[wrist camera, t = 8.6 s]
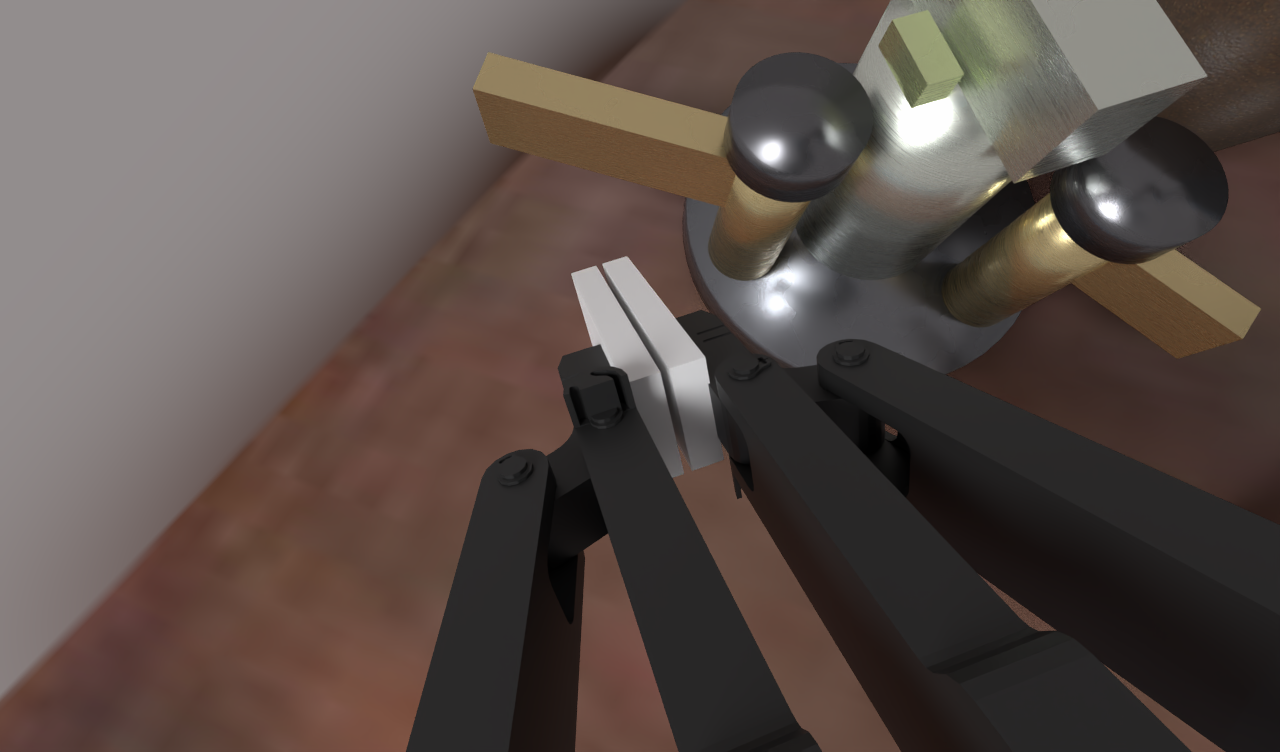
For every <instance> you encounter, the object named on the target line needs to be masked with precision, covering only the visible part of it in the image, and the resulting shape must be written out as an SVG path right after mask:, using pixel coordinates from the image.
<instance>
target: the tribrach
mask: <svg viewBox="0 0 1280 752" xmlns="http://www.w3.org/2000/svg"><path fill="white" fill-rule="evenodd" d="M837 64H839V65H841V66H842V67H844V68H845V69H846V70H848V71H849V72H850V73H851V74H852V75H853V76H854V77H856V79H857V80H858V81H859V82H860V83H861V85H862V86H863V88H864V89H865V91H866V93H867V95H868V97H869V99H870V102H871V106H872V111H873V128H872V132H871V136H870V139H869V141H868V143H867V145H866V146H865V148H864V150H863V151H862V153H861V154H860V156H859V157H858V159H857V160H856V162H855V163H854V165H853V167H852V168H851V170H850V171H849V173H848V174H847V176H846V177H845V179H844V180H843V181H842V183H841V184H840V185H839V186H838V187H837V188H835V189H834V190H833V191H832V192H830V193H828V194H827V195H825V196H823V197H820V198H818V199H815V200H811V201H810V203H809V205H808V206H807V208H806V210H805V211H804V213H803V215H802V217H801V218H800V220H799V222H798V223H797V225H796V227H795V229H794V230H793V232H792V234H791V235H790V237H789V239H788V240H787V242H786V244H785V246H784V247H783V249H782V251H781V252H780V254H779V256H778V257H777V259H776V261H775V263H774V264H773V266H772V267H771V269H770V270H769V271H768V272H767V273H766V274H764V275H763V276H761V277H759V278H757V279H753V280H748V281H741V280H735V279H732V278H729V277H727V276H725V275H724V274H722V273H721V272H720V271H718V270H717V268H716V267H715V266H714V265H713V263H712V261H711V259H710V257H709V253H708V241H709V237H710V234H711V231H712V228H713V224H714V221H715V218H716V215H717V212H718V208H719V206H717V205H713V204H709V203H706V202H702V201H699V200H695V199H691V198H688V197H686V198H685V203H684V212H683V221H682V222H683V243H684V249H685V255H686V260H687V264H688V267H689V270H690V273H691V276H692V279H693V282H694V284H695V286H696V288H697V291H698V293H699V295H700V297H701V299H702V301H703V303H704V304H705V306H706V307H707V309H708V310H709V312H710V313H711V314H713V315H716V316H717V317H718V318H719V319H720V320H721V321H722V322H723V323H724V325H725V326H726V327H727V328H728V329H729V330H730V331H731V333H733V334H734V335H735V336H736V337H737V338H738V340H739V341H740V342H741V343H742V344H743V345H744V346H745V347H746V348H747V349H748V350H749V351H750V352H751V354H762V355H766V356H769V357H770V358H772V359H773V360H775V361H776V362H777V363H778V364H779V365H780V366H781V367H782V368H796V367H804V366H812V365H817V358H816V356H817V354H818V352H819V350H820V349H822V348H823V347H824V346H826V345H827V344H830V343H832V342H835V341H838V340H843V339H844V340H845V339H861V340H866V341H870V342H873V343H876V344H878V345H880V346H883V347H885V348H887V349H889V350H892V351H894V352H896V353H898V354H900V355H903V356H905V357H907V358H909V359H912V360H914V361H916V362H918V363H920V364H923V365H925V366H927V367H929V368H932V369H934V370H936V371H938V372H940V373H943V374H945V375H946V374H948V373H950V372H952V371H954V370H956V369H958V368H961V367H963V366H965V365H966V364H968V363H970V362H971V361H973V360H974V359H976V358H977V357H979V356H981V355H982V354H984V353H985V352H986V351H987V350H988V349H990V348H991V347H992V346H993V345H994V344H995V343H997V342H998V341H999V340H1000V339H1001V338H1002V337H1003V335H1004V334H1005V333H1006V332H1007V331H1008V330H1009V328H1010V327H1011V326H1012V325H1013V324H1014V322H1015V321H1016V319H1017V317H1018V316H1019V314H1020V313H1021V311H1022V310H1023V309H1024V308H1026V307H1028V306H1030V305H1032V304H1034V303H1035V302H1037V301H1039V300H1041V299H1043V298H1045V297H1047V296H1048V295H1050V294H1052V293H1054V292H1056V291H1058V290H1059V289H1061V288H1063V287H1065V286H1067V285H1069V284H1071V283H1072V284H1073V285H1075V286H1076V287H1077V288H1079V289H1080V290H1082V291H1083V292H1084V293H1086V294H1087V295H1089V296H1090V297H1091V298H1093V299H1094V300H1096V301H1097V302H1098V303H1100V304H1101V305H1102V306H1104V307H1105V308H1107V309H1108V310H1109V311H1111V312H1112V313H1114V314H1115V315H1116V316H1118V317H1119V318H1121V319H1122V320H1123V321H1125V322H1126V323H1128V324H1129V325H1130V326H1132V327H1133V328H1135V329H1136V330H1137V331H1139V332H1140V333H1142V334H1143V335H1144V336H1146V337H1147V338H1149V339H1150V340H1151V341H1153V342H1154V343H1155V344H1157V345H1158V346H1160V347H1161V348H1162V349H1164V350H1165V351H1167V352H1168V353H1169V354H1171V355H1172V356H1174V357H1175V358H1176V359H1178V358H1182V357H1185V356H1188V355H1191V354H1195V353H1198V352H1201V351H1205V350H1208V349H1211V348H1215V347H1218V346H1221V345H1224V344H1228V343H1231V342H1234V341H1238V340H1241V339H1243V338H1244V336H1245V335H1246V333H1247V331H1248V330H1249V328H1250V326H1251V325H1252V323H1253V321H1254V320H1255V318H1256V317H1257V315H1258V313H1259V312H1260V310H1261V309H1260V308H1259V307H1258V306H1256V305H1255V304H1253V303H1252V302H1250V301H1249V300H1247V299H1246V298H1245V297H1243V296H1242V295H1240V294H1239V293H1237V292H1236V291H1234V290H1233V289H1231V288H1230V287H1229V286H1227V285H1226V284H1224V283H1223V282H1221V281H1220V280H1218V279H1217V278H1215V277H1214V276H1213V275H1211V274H1210V273H1208V272H1207V271H1205V270H1204V269H1202V268H1201V267H1200V266H1198V265H1197V264H1195V263H1194V262H1192V261H1191V260H1189V259H1188V258H1186V257H1185V256H1184V255H1182V254H1181V253H1179V252H1178V251H1176V250H1175V249H1176V248H1178V247H1180V246H1182V245H1184V244H1186V243H1188V242H1190V241H1192V240H1194V239H1196V238H1198V237H1200V236H1202V235H1204V234H1205V233H1207V232H1209V231H1210V230H1211V229H1212V228H1214V227H1215V226H1216V225H1217V224H1218V222H1219V221H1220V220H1221V218H1222V216H1223V214H1224V213H1225V210H1226V207H1227V202H1228V183H1227V179H1226V175H1225V172H1224V170H1223V167H1222V165H1221V163H1220V162H1219V160H1218V158H1217V156H1216V155H1215V154H1214V152H1213V151H1212V150H1211V148H1210V147H1209V146H1208V145H1207V144H1206V143H1205V142H1204V141H1203V140H1202V139H1201V138H1199V137H1198V136H1197V135H1196V134H1194V133H1193V132H1192V131H1190V130H1189V129H1187V128H1185V127H1184V126H1182V125H1180V124H1178V123H1176V122H1173V121H1171V120H1168V119H1165V118H1161V117H1157V115H1158V114H1159V113H1160V112H1162V111H1163V110H1164V109H1166V108H1167V107H1168V106H1170V105H1171V104H1172V103H1173V102H1175V101H1176V100H1177V99H1179V98H1180V97H1181V96H1183V95H1184V94H1185V93H1187V92H1188V91H1189V90H1190V89H1192V88H1193V87H1194V86H1196V85H1197V84H1198V83H1200V82H1201V81H1202V80H1203V79H1205V78H1206V77H1207V74H1206V73H1205V71H1204V70H1203V68H1202V67H1201V66H1200V64H1199V63H1198V61H1197V60H1196V58H1195V57H1194V55H1193V54H1192V52H1191V51H1190V49H1189V48H1188V46H1187V45H1186V43H1185V42H1184V40H1183V39H1182V38H1181V36H1180V35H1179V33H1178V32H1177V30H1176V29H1175V27H1174V26H1173V24H1172V23H1171V21H1170V20H1169V18H1168V17H1167V15H1166V14H1165V12H1164V11H1163V10H1162V8H1161V7H1160V5H1159V4H1158V2H1157V1H1156V0H891V1H890V3H889V5H888V7H887V8H886V10H885V12H884V14H883V16H882V18H881V20H880V22H879V24H878V26H877V28H876V30H875V32H874V34H873V36H872V37H871V39H870V41H869V43H868V45H867V47H866V49H865V51H864V53H863V55H862V57H861V59H860V61H859V63H858V64H847V63H837ZM730 108H731V105H730V106H729V107H728V108H727V109H726V110H725V111H724V112H723V113H722V116H726V117H728V115H729V111H730ZM1052 171H1055V172H1054V174H1053V177H1052V180H1051V185H1050V193H1049V194H1048V195H1046V196H1045V197H1044V198H1043V199H1041V200H1040V201H1039V202H1037V203H1036V204H1035V203H1034V200H1033V197H1032V194H1031V191H1030V188H1029V185H1028V182H1027V179H1030V178H1033V177H1036V176H1039V175H1042V174H1046V173H1049V172H1052Z"/></svg>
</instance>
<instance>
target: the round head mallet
mask: <svg viewBox="0 0 1280 752" xmlns="http://www.w3.org/2000/svg"><path fill="white" fill-rule="evenodd" d="M473 92H474V94H475V98H476V101H477V103H478V107H479V110H480V112H481V115H482V118H483V122H484V125H485V128H486V130H487V134H488V137H489V140H490V143H492V144H496V145H500V146H503V147H507V148H510V149H514V150H518V151H521V152H525V153H528V154H532V155H536V156H539V157H543V158H547V159H550V160H554V161H557V162H561V163H565V164H568V165H572V166H576V167H579V168H583V169H586V170H590V171H594V172H597V173H601V174H605V175H608V176H612V177H615V178H619V179H623V180H626V181H630V182H633V183H637V184H641V185H644V186H648V187H652V188H655V189H659V190H662V191H666V192H670V193H673V194H677V195H681V196H684V197H688V198H691V199H695V200H699V201H702V202H706V203H709V204H713V205H717V206H719V208H718V212H717V215H716V218H715V221H714V224H713V228H712V231H711V234H710V237H709V241H708V253H709V257H710V259H711V261H712V263H713V265H714V266H715V267H716V268H717V270H718V271H720V272H721V273H722V274H724V275H725V276H727V277H729V278H732V279H735V280H741V281H748V280H753V279H757V278H759V277H761V276H763V275H764V274H766V273H767V272H768V271H769V270H770V269H771V267H772V266H773V264H774V263H775V261H776V259H777V257H778V256H779V254H780V252H781V251H782V249H783V247H784V246H785V244H786V242H787V240H788V239H789V237H790V235H791V234H792V232H793V230H794V229H795V227H796V225H797V223H798V222H799V220H800V218H801V217H802V215H803V213H804V211H805V210H806V208H807V206H808V205H809V203H810V201H811V200H815V199H818V198H820V197H823V196H825V195H827V194H828V193H830V192H832V191H833V190H834V189H835V188H837V187H838V186H839V185H840V184H841V183H842V181H843V180H844V179H845V177H846V176H847V174H848V173H849V171H850V170H851V168H852V167H853V165H854V163H855V162H856V160H857V159H858V157H859V156H860V154H861V153H862V151H863V150H864V148H865V146H866V145H867V143H868V141H869V139H870V136H871V132H872V128H873V111H872V106H871V102H870V99H869V97H868V95H867V93H866V91H865V89H864V88H863V86H862V85H861V83H860V82H859V81H858V80H857V79H856V77H854V76H853V75H852V74H851V73H850V72H849V71H848V70H846V69H845V68H844V67H842V66H841V65H839V64H837V63H836V62H834V61H832V60H829V59H827V58H825V57H821V56H818V55H814V54H809V53H800V52H797V53H783V54H779V55H774V56H771V57H769V58H766V59H764V60H762V61H760V62H759V63H757V64H756V65H754V66H753V67H752V68H750V69H749V70H748V71H747V72H746V73H745V75H744V76H743V77H742V78H741V80H740V82H739V83H738V85H737V88H736V90H735V93H734V96H733V100H732V104H731V108H730V111H729V115H728V117H726V116H722V115H718V114H715V113H711V112H707V111H704V110H700V109H696V108H692V107H689V106H685V105H681V104H678V103H674V102H670V101H667V100H663V99H659V98H655V97H652V96H648V95H644V94H641V93H637V92H633V91H630V90H626V89H622V88H619V87H615V86H611V85H607V84H604V83H600V82H596V81H593V80H589V79H585V78H581V77H577V76H574V75H570V74H567V73H563V72H559V71H556V70H552V69H548V68H544V67H541V66H537V65H534V64H529V63H526V62H522V61H518V60H515V59H511V58H507V57H504V56H500V55H497V54H493V53H488V54H487V57H486V59H485V61H484V63H483V66H482V68H481V71H480V73H479V75H478V77H477V80H476V82H475V85H474V87H473Z"/></svg>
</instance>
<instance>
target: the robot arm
mask: <svg viewBox="0 0 1280 752" xmlns="http://www.w3.org/2000/svg"><path fill="white" fill-rule="evenodd" d="M603 268H604V272H605V276H606V279H607V283H608V285H607V283H606V281H605V280H604V278H603V276H602V275H601V273H600V271H599V270H598V268H597V266H594V267H590V268H587V269H584V270H580V271H577V272H574V273H571V275H572V278H573V281H574V285H575V288H576V292H577V295H578V298H579V302H580V305H581V308H582V312H583V315H584V318H585V322H586V325H587V329H588V332H589V335H590V339H591V342H592V345H593V347H590V348H587V349H583V350H580V351H577V352H574V353H571V354H568V355H565V356H563V357H562V359H561V362H560V364H559V366H558V371H559V374H560V378H561V381H562V384H563V388H564V393H563V396H564V399H565V402H566V405H567V408H568V411H569V413H570V416H571V419H572V422H573V425H574V429H573V432H572V434H571V436H570V437H569V439H568V440H567V441H566V442H565V443H564V444H563V445H562V446H561V447H560V448H558V449H557V450H555V451H554V452H552V453H551V454H549V455H547V456H545V455H544V454H543V453H542V452H540V451H537V450H533V449H526V450H518V451H515V452H512V453H508V454H506V455H504V456H503V457H501V458H499V459H498V460H496V461H495V462H494V463H493V464H492V465H491V466H489V467H488V468H487V470H486V471H485V473H484V475H483V477H482V479H481V483H480V487H479V490H478V494H477V498H476V501H475V505H474V508H473V512H472V516H471V519H470V523H469V526H468V530H467V534H466V537H465V541H464V544H463V548H462V552H461V555H460V559H459V562H458V566H457V570H456V573H455V577H454V580H453V584H452V588H451V591H450V595H449V598H448V602H447V606H446V609H445V613H444V616H443V620H442V624H441V627H440V631H439V634H438V638H437V642H436V645H435V649H434V652H433V656H432V660H431V663H430V667H429V670H428V674H427V678H426V681H425V685H424V688H423V692H422V696H421V699H420V703H419V707H418V710H417V714H416V717H415V721H414V725H413V728H412V732H411V735H410V739H409V743H408V746H407V750H406V752H575V738H576V719H577V700H578V681H579V662H580V643H581V624H582V605H583V586H584V567H585V556H584V551H583V550H584V549H586V548H587V547H589V546H590V545H592V544H593V543H594V542H596V541H597V540H599V539H600V538H602V537H603V536H605V535H606V534H609V537H610V540H611V543H612V546H613V549H614V552H615V555H616V558H617V562H618V565H619V568H620V571H621V574H622V577H623V580H624V583H625V586H626V589H627V593H628V596H629V599H630V602H631V605H632V608H633V611H634V614H635V617H636V621H637V624H638V627H639V630H640V633H641V636H642V639H643V642H644V645H645V649H646V652H647V655H648V658H649V661H650V664H651V667H652V670H653V673H654V677H655V680H656V683H657V686H658V689H659V692H660V695H661V698H662V701H663V704H664V708H665V711H666V714H667V717H668V720H669V723H670V726H671V729H672V732H673V736H674V739H675V742H676V745H677V748H678V751H679V752H822V751H821V749H820V747H819V746H818V744H817V742H816V741H815V740H814V738H813V737H812V736H811V734H810V733H809V732H808V731H806V730H804V729H802V728H801V727H800V725H799V724H798V723H797V721H796V719H795V717H794V716H793V714H792V712H791V710H790V708H789V706H788V704H787V702H786V700H785V698H784V696H783V694H782V692H781V691H780V689H779V687H778V685H777V683H776V681H775V679H774V677H773V675H772V673H771V671H770V669H769V667H768V665H767V663H766V661H765V659H764V657H763V655H762V653H761V651H760V649H759V647H758V645H757V643H756V641H755V639H754V638H753V636H752V634H751V632H750V630H749V628H748V626H747V624H746V622H745V620H744V618H743V616H742V614H741V612H740V610H739V608H738V606H737V604H736V602H735V600H734V598H733V596H732V594H731V592H730V590H729V588H728V586H727V585H726V583H725V581H724V579H723V577H722V575H721V573H720V571H719V569H718V567H717V565H716V563H715V561H714V559H713V557H712V555H711V553H710V551H709V549H708V547H707V545H706V543H705V541H704V539H703V537H702V535H701V533H700V531H699V530H698V528H697V526H696V524H695V522H694V520H693V518H692V516H691V514H690V512H689V510H688V508H687V506H686V504H685V502H684V500H683V498H682V496H681V494H680V492H679V490H678V488H677V486H676V484H675V482H674V480H673V477H676V476H679V475H682V474H684V471H683V467H682V463H681V459H680V454H679V450H678V446H677V444H678V445H679V447H680V449H681V451H682V453H683V455H684V457H685V458H686V460H687V462H688V464H689V466H690V468H691V470H692V471H693V470H696V469H699V468H702V467H704V466H707V465H710V464H713V463H716V462H719V461H721V460H724V457H723V452H722V446H721V443H722V444H723V446H724V447H725V449H726V450H727V452H728V453H729V459H730V464H731V470H732V476H733V482H734V487H735V492H736V496H737V499H739V498H742V494H741V488H742V490H743V491H744V493H745V494H746V496H747V498H748V499H749V501H750V503H751V504H752V506H753V508H754V509H755V511H756V513H757V514H758V516H759V518H760V519H761V521H762V523H763V524H764V526H765V527H766V529H767V531H768V532H769V534H770V536H771V537H772V539H773V541H774V542H775V544H776V546H777V547H778V549H779V551H780V552H781V554H782V556H783V557H784V559H785V560H786V562H787V564H788V565H789V567H790V569H791V570H792V572H793V574H794V575H795V577H796V579H797V580H798V582H799V584H800V585H801V587H802V589H803V590H804V592H805V593H806V595H807V597H808V598H809V600H810V602H811V603H812V605H813V607H814V608H815V610H816V612H817V613H818V615H819V617H820V618H821V620H822V622H823V623H824V625H825V626H826V628H827V630H828V631H829V633H830V635H831V636H832V638H833V640H834V641H835V643H836V645H837V646H838V648H839V650H840V651H841V653H842V655H843V656H844V658H845V659H846V661H847V663H848V664H849V666H850V668H851V669H852V671H853V673H854V674H855V676H856V678H857V679H858V681H859V683H860V684H861V686H862V688H863V689H864V691H865V692H866V694H867V696H868V697H869V699H870V701H871V702H872V704H873V706H874V707H875V709H876V711H877V712H878V714H879V716H880V717H881V719H882V721H883V722H884V724H885V725H886V727H887V729H888V730H889V732H890V734H891V735H892V737H893V739H894V740H895V742H896V744H897V745H898V747H899V749H900V750H901V752H1191V751H1190V750H1189V749H1188V748H1187V747H1186V746H1185V745H1184V744H1183V743H1182V742H1181V741H1180V740H1179V739H1178V738H1177V737H1176V736H1175V735H1174V734H1173V733H1172V732H1171V731H1170V730H1169V729H1168V728H1167V727H1166V726H1165V725H1164V724H1163V723H1162V722H1161V721H1160V720H1159V719H1158V718H1157V717H1156V716H1155V715H1154V714H1153V713H1152V712H1151V711H1150V710H1149V709H1148V708H1147V707H1146V706H1145V705H1144V704H1143V703H1142V702H1141V701H1140V700H1139V699H1138V698H1137V697H1136V696H1135V695H1134V694H1133V693H1132V692H1131V691H1130V690H1129V689H1128V688H1127V687H1126V686H1125V685H1124V684H1123V683H1121V682H1120V681H1119V680H1118V679H1117V678H1116V677H1115V676H1114V675H1113V674H1112V673H1111V672H1110V671H1109V670H1108V669H1107V668H1106V667H1105V666H1104V665H1106V666H1107V667H1108V668H1110V669H1111V670H1113V671H1114V672H1115V673H1117V674H1118V675H1120V676H1121V677H1122V678H1124V679H1125V680H1127V681H1128V682H1129V683H1131V684H1132V685H1134V686H1135V687H1136V688H1138V689H1139V690H1140V691H1142V692H1143V693H1145V694H1146V695H1147V696H1149V697H1150V698H1152V699H1153V700H1154V701H1156V702H1157V703H1159V704H1160V705H1161V706H1163V707H1164V708H1165V709H1167V710H1168V711H1170V712H1171V713H1172V714H1174V715H1175V716H1177V717H1178V718H1179V719H1181V720H1182V721H1184V722H1185V723H1186V724H1188V725H1189V726H1190V727H1192V728H1193V729H1195V730H1196V731H1197V732H1199V733H1200V734H1202V735H1203V736H1204V737H1206V738H1207V739H1209V740H1210V741H1211V742H1213V743H1214V744H1215V745H1217V746H1218V747H1220V748H1221V749H1223V750H1224V751H1226V752H1280V525H1278V524H1276V523H1274V522H1272V521H1270V520H1267V519H1265V518H1263V517H1261V516H1258V515H1256V514H1254V513H1252V512H1250V511H1247V510H1245V509H1243V508H1241V507H1238V506H1236V505H1234V504H1232V503H1230V502H1227V501H1225V500H1223V499H1221V498H1218V497H1216V496H1214V495H1212V494H1210V493H1207V492H1205V491H1203V490H1201V489H1198V488H1196V487H1194V486H1192V485H1189V484H1187V483H1185V482H1183V481H1181V480H1178V479H1176V478H1174V477H1172V476H1169V475H1167V474H1165V473H1163V472H1161V471H1158V470H1156V469H1154V468H1152V467H1149V466H1147V465H1145V464H1143V463H1141V462H1138V461H1136V460H1134V459H1132V458H1129V457H1127V456H1125V455H1123V454H1121V453H1118V452H1116V451H1114V450H1112V449H1109V448H1107V447H1105V446H1103V445H1101V444H1098V443H1096V442H1094V441H1092V440H1089V439H1087V438H1085V437H1083V436H1081V435H1078V434H1076V433H1074V432H1072V431H1069V430H1067V429H1065V428H1063V427H1061V426H1058V425H1056V424H1054V423H1052V422H1049V421H1047V420H1045V419H1043V418H1041V417H1038V416H1036V415H1034V414H1032V413H1029V412H1027V411H1025V410H1023V409H1020V408H1018V407H1016V406H1014V405H1012V404H1009V403H1007V402H1005V401H1003V400H1000V399H998V398H996V397H994V396H992V395H989V394H987V393H985V392H983V391H980V390H978V389H976V388H974V387H972V386H969V385H967V384H965V383H963V382H960V381H958V380H956V379H954V378H952V377H949V376H947V375H945V374H943V373H940V372H938V371H936V370H934V369H932V368H929V367H927V366H925V365H923V364H920V363H918V362H916V361H914V360H912V359H909V358H907V357H905V356H903V355H900V354H898V353H896V352H894V351H892V350H889V349H887V348H885V347H883V346H880V345H878V344H876V343H873V342H870V341H866V340H861V339H845V340H844V339H843V340H838V341H835V342H832V343H830V344H827V345H826V346H824V347H823V348H822V349H820V350H819V352H818V354H817V356H816V358H817V365H812V366H804V367H796V368H782V367H781V366H780V365H779V364H778V363H777V362H776V361H775V360H773V359H772V358H770V357H769V356H766V355H762V354H751V352H750V351H749V350H748V349H747V348H746V347H745V346H744V345H743V344H742V343H741V342H740V341H739V340H738V338H737V337H736V336H735V335H734V334H733V333H731V331H730V330H729V329H728V328H727V327H726V326H725V325H724V323H723V322H722V321H721V320H720V319H719V318H718V317H717V316H716V315H713V314H711V313H708V312H705V311H702V310H700V311H697V312H694V313H691V314H687V315H684V316H681V317H678V318H675V317H674V316H673V315H672V314H671V312H670V311H669V310H668V308H667V307H666V306H665V305H664V303H663V302H662V301H661V299H660V298H659V297H658V295H657V294H656V293H655V292H654V290H653V289H652V288H651V286H650V285H649V284H648V283H647V281H646V280H645V279H644V277H643V276H642V275H641V274H640V272H639V271H638V270H637V268H636V267H635V266H634V265H633V263H632V262H631V261H630V259H629V258H628V257H627V256H626V257H623V258H620V259H616V260H613V261H610V262H607V263H603ZM885 424H887V425H889V426H891V427H892V428H894V429H896V430H897V431H898V435H897V436H895V435H892V434H890V433H889V432H887V431H885ZM977 573H978V574H979V575H981V576H982V577H983V578H985V579H986V580H988V581H989V582H990V583H992V584H993V585H995V586H996V587H997V588H999V589H1000V590H1001V591H1003V592H1004V593H1006V594H1007V595H1008V596H1010V597H1011V598H1013V599H1014V600H1015V601H1017V602H1018V603H1020V604H1021V605H1022V606H1024V607H1025V608H1027V609H1028V610H1029V611H1031V612H1032V613H1033V614H1035V615H1036V616H1038V617H1039V618H1040V619H1042V620H1043V621H1045V622H1046V623H1047V624H1049V625H1050V626H1052V627H1053V628H1054V629H1056V630H1057V631H1037V630H1035V629H1033V628H1031V627H1029V626H1028V625H1027V624H1026V623H1025V622H1024V621H1022V620H1021V619H1020V618H1019V617H1018V616H1017V615H1016V614H1015V613H1014V611H1013V610H1012V609H1011V608H1010V607H1009V606H1008V605H1007V604H1006V603H1005V602H1004V601H1003V600H1002V599H1001V598H1000V597H999V596H998V595H997V594H996V593H995V591H994V590H993V589H992V588H991V587H990V586H989V585H988V584H987V583H986V582H985V581H984V580H983V579H982V578H981V577H980V576H979V575H978V574H977ZM1101 662H1102V663H1103V664H1104V665H1103V664H1102V663H1101Z"/></svg>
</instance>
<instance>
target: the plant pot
mask: <svg viewBox="0 0 1280 752" xmlns="http://www.w3.org/2000/svg"><path fill="white" fill-rule="evenodd" d="M1156 1H1157V2H1158V4H1159V5H1160V7H1161V8H1162V10H1163V11H1164V12H1165V14H1166V15H1167V17H1168V18H1169V20H1170V21H1171V23H1172V24H1173V26H1174V27H1175V29H1176V30H1177V32H1178V33H1179V35H1180V36H1181V38H1182V39H1183V40H1184V42H1185V43H1186V45H1187V46H1188V48H1189V49H1190V51H1191V52H1192V54H1193V55H1194V57H1195V58H1196V60H1197V61H1198V63H1199V64H1200V66H1201V67H1202V68H1203V70H1204V71H1205V73H1206V74H1207V77H1206V78H1205V79H1203V80H1202V81H1201V82H1200V83H1198V84H1197V85H1196V86H1194V87H1193V88H1192V89H1190V90H1189V91H1188V92H1187V93H1185V94H1184V95H1183V96H1181V97H1180V98H1179V99H1177V100H1176V101H1175V102H1173V103H1172V104H1171V105H1170V106H1168V107H1167V108H1166V109H1164V110H1163V111H1162V112H1160V113H1159V114H1158V115H1157V117H1161V118H1165V119H1168V120H1171V121H1173V122H1176V123H1178V124H1180V125H1182V126H1184V127H1185V128H1187V129H1189V130H1190V131H1192V132H1193V133H1194V134H1196V135H1197V136H1198V137H1199V138H1201V139H1202V140H1203V141H1204V142H1205V143H1206V144H1207V145H1208V146H1209V147H1210V148H1211V150H1212V151H1213V152H1214V151H1218V150H1221V149H1224V148H1228V147H1231V146H1235V145H1238V144H1241V143H1245V142H1248V141H1251V140H1254V139H1257V138H1261V137H1264V136H1267V135H1270V134H1273V133H1276V132H1279V131H1280V0H1156Z"/></svg>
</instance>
